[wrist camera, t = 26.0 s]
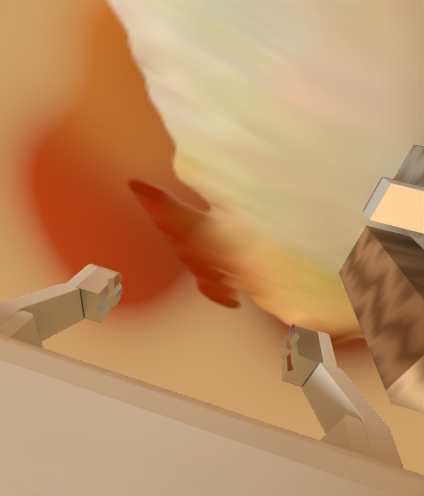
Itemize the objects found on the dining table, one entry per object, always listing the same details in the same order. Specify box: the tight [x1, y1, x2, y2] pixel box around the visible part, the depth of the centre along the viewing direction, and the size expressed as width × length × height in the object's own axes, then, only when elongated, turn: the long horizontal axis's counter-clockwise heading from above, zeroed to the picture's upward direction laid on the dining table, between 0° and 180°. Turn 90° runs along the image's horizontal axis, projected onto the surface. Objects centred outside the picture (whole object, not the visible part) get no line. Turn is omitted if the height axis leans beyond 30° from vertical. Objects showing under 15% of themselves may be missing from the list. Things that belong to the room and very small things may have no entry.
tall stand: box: [339, 226, 424, 413], centre depth 36 cm, size 11×13×26 cm
